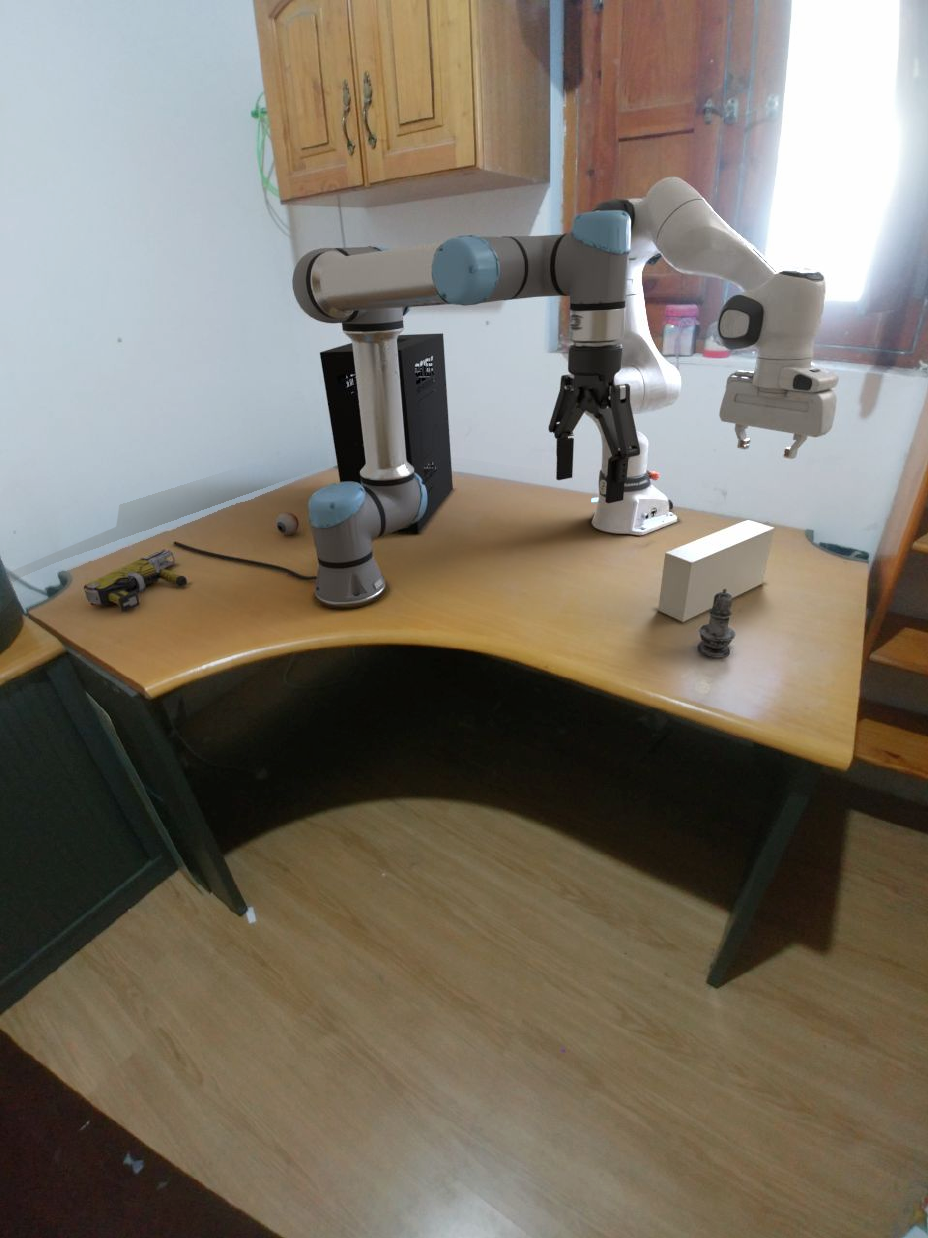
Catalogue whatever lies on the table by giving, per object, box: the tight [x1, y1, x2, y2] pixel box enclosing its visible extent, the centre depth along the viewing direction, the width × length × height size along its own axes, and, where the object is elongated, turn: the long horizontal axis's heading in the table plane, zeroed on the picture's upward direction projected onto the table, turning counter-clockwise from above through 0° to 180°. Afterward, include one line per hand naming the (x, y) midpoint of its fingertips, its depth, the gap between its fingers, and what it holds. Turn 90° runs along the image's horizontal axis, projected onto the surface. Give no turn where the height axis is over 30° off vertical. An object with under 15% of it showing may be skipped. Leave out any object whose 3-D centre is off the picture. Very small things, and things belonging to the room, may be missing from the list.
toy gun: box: [83, 548, 188, 613], centre depth 139 cm, size 5×24×15 cm
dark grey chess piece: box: [697, 589, 736, 659], centre depth 103 cm, size 6×6×12 cm
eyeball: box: [275, 511, 300, 536], centre depth 163 cm, size 6×6×6 cm
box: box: [657, 519, 775, 623], centre depth 120 cm, size 25×6×12 cm, turn 124°
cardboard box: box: [319, 332, 454, 535], centre depth 167 cm, size 38×20×45 cm, turn 167°
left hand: (587, 489), depth 96 cm, fingers open, 13 cm apart
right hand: (765, 452), depth 113 cm, fingers open, 8 cm apart
